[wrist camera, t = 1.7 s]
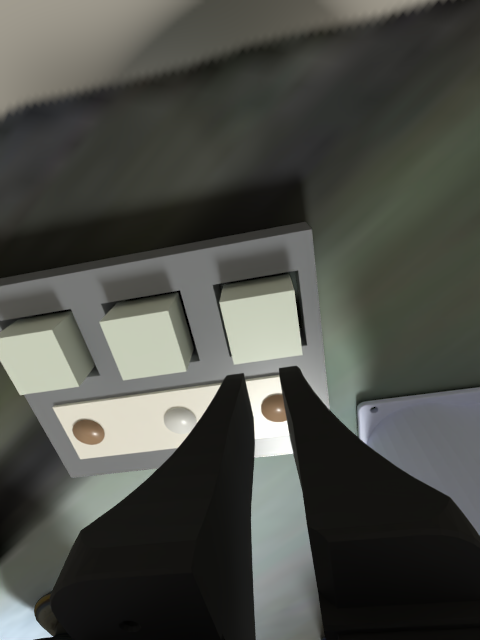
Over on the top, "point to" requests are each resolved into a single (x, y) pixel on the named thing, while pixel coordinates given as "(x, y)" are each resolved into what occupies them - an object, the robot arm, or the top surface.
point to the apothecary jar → (49, 620)
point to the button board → (206, 361)
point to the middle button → (148, 336)
